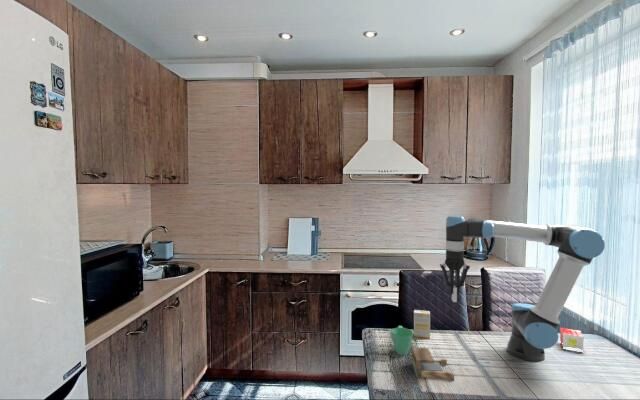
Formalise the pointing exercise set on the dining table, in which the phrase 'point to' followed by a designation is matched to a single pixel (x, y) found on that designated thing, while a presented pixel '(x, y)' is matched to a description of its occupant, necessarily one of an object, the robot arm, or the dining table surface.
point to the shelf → (438, 373)
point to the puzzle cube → (571, 338)
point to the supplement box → (422, 324)
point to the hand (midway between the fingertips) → (454, 301)
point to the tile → (431, 366)
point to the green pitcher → (402, 339)
